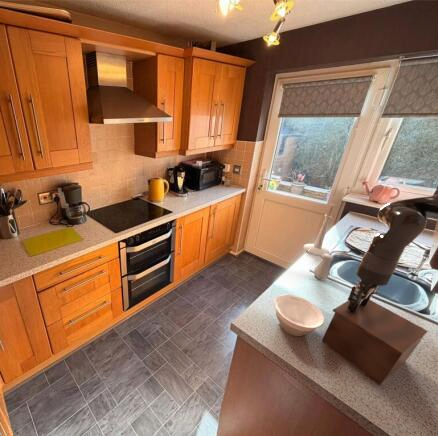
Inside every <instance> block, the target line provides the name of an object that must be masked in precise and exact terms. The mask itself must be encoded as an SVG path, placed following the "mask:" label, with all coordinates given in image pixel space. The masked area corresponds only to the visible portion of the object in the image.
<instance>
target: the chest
mask: <svg viewBox="0 0 438 436" xmlns="http://www.w3.org/2000/svg"><path fill="white" fill-rule="evenodd" d="M424 337H425V335H423V336H422V337H421V338H420V339H419V340H418V341H417V342H416V343H414V344H413V345H412V346H411V347H410V348H409V349H408V350H407V351H405V352H404V353H403V354H402V355H400V354H398V353H397V352H395V351H394V350H392V349H391V348H389V347H387V346H386V345H384V344H383V343H381V342H380V341H378V340H377V339H375V338H373V337H372V336H370V335H369V334H367V333H366V332H364V331H363V330H361V329H360V328H358V327H356V326H355V325H353V324H352V323H350V322H349V321H347V320H346V319H344V318H342V317H341V316H339V315H338V314H336V313H335V312H334V314H333V315H332V318H331V320H330V322H329V324H328V327H327V329H326V331H325V332H324V335H323V337H322V339H321V342H323V343H324V344H325V345H326V346H327V347H329V348H330V349H332V350H333V351H334V352H335V353H337V354H338V355H339V356H341V357H342V358H343V359H345V360H346V362H348V363H350V364H351V365H352V366H354V367H355V368H356V369H358V370H359V371H360V372H362V374H364V375H365V376H367V377H368V378H369V379H370V380H372V381H373V382H374V383H375V384H376V385H378V386H382V384H383V383H384V382H386V381H387V380H388V379H389V378H390V377H391V376H392V375H393V374H394V373H395V372H396V371H398V370H399V369H400V368H401V367H402V366H403V365H404V364H406V362H407V361H408V359H409V358H410V356H411V355H412V354H413V352H414V351H415V349H416V348H417V346H418V345H419V344H420V342H421V341H422V340H423V338H424Z"/></svg>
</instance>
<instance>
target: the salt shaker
mask: <svg viewBox="0 0 438 436" xmlns="http://www.w3.org/2000/svg"><path fill="white" fill-rule="evenodd" d="M333 260H334V257H333V256H332V255H331V254H323V255H322V256H321V260H320V262H319V263H318V265H317V266H316V267H315V268H314V271H313V274H314V277H315V276H316V277H317V278H319V279H318V280H320V279H324V280H326V279H327V278H328V277H329V275H330V266H331V262H333ZM316 277H315V278H316ZM317 278H316V279H317Z"/></svg>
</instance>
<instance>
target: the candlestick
mask: <svg viewBox="0 0 438 436" xmlns="http://www.w3.org/2000/svg"><path fill="white" fill-rule="evenodd" d="M335 206H336V204H334V203H330V204H329V207H328V210H327V213H326V214H324V216H325V217H324V219H325V220H324V221H323V223H322V225H321V228H320V230H319V233H318V235H317V237H316V240H315V242H314V243H306V244H304V245H303V250H304V251H305V252H307V251H308V250H309V249H310V248H311V247H312V248H311V249H310V250H309V251H308V252H309V253H308V252H307V253H308V254H310V253H312V254H311V255H313V254H314V255H313V256H316V255H317V257H322V255H323V254H329V255H331V252H330V250H329V249H327V248H326V247H325V246H323V243H324V239H325V236H326V234H327V229H328V226H329V221H330V220H331V219H332V218H333V217H334V216H333V215H332V214H333V212H334V209H335Z"/></svg>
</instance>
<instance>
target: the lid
mask: <svg viewBox="0 0 438 436" xmlns="http://www.w3.org/2000/svg"><path fill="white" fill-rule="evenodd" d="M362 295H363V296H365V295H364V294H362ZM355 299H356V298H355ZM363 300H364V299H363ZM363 300H362V301H363ZM349 303H350V301H349V300H348V299H347V301H345V302H343V303H341V304H339V305H338V306H336V307H334V308H333V309H332V312H333V313H334V314H335V313H336V314H338V315H339V316H341V317H342V318H344V319H346V320H347V321H349V322H350V323H352V324H353V325H355V326H356V327H358V328H360V329H361V330H363V331H364V332H366V333H367V334H369V335H370V336H372V337H373V338H375V339H377V340H378V341H380V342H381V343H383V344H384V345H386V346H387V347H389V348H391V349H392V350H394V351H395V352H397V353H398V354H400V355H402V354H403V353H404V352H405V351H407V350H408V349H409V348H410V347H411V346H412V345H413V344H414V343H416V342H417V341H418V340H419V339H420V338H421V337H422V336H423V335H424V336H426V335H427V333H428V330H427V329H425V328H423V327H421V326H419V325H417V324H416V323H414V322H412V321H410V320H409V319H407V318H404V317H403V316H401V315H399V314H397V313H395V312H393V311H391V309H388V308H386V307H384V306H382V304H381V305H380V304H379V303H377V302H375V301H373V300H371V298H370V299H369V301H368V303H367V305H366V306H364V305H362V304H360V305H359V307H358V309H357V311H356V312H352V311H351V310H349V309H348V308H347V307H348V305H349ZM361 303H362V302H361Z"/></svg>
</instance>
